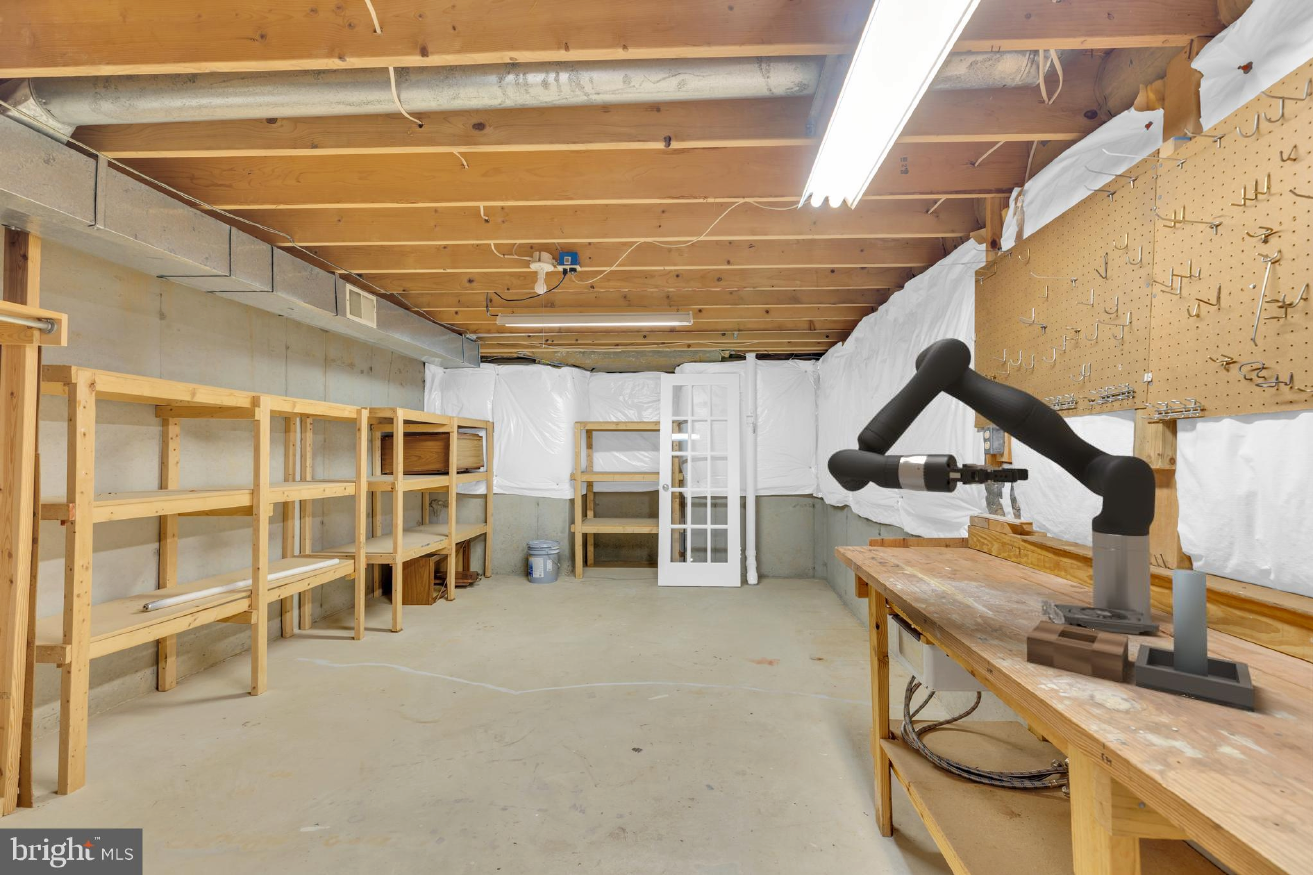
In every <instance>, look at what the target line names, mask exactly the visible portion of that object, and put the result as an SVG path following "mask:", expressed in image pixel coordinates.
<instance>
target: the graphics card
mask: <svg viewBox="0 0 1313 875" xmlns="http://www.w3.org/2000/svg"><path fill="white" fill-rule="evenodd" d="M1040 610H1041V612H1042V613H1041V614H1040V615H1046V616H1048V621H1049V622H1053V623H1059V624H1065V625H1070V626H1076V627H1078V624H1079V625H1081V627H1082V628H1087V629H1094V630H1099V631H1104V632H1110V633H1119V634H1122V633H1123V634H1131V635H1140V633H1143V632H1146V631H1147V632H1153V633H1154V632H1155V633H1157V632H1158V633H1159V632H1160V624H1159V623H1154V621H1153V620H1152V618H1151V619H1149V618H1147V617H1144V616H1143V613H1141V612H1135V611H1125V610H1115V609H1104V608H1094V607H1093V606H1082V605H1081V606H1080V605H1072V604H1063V603H1062V604H1061V603H1055V604H1054V603H1052V602H1051V601H1050V600H1046V599H1045V600H1043V599H1042V600H1041V609H1040Z"/></svg>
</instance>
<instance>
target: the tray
mask: <svg viewBox="0 0 1313 875" xmlns="http://www.w3.org/2000/svg"><path fill="white" fill-rule="evenodd" d="M1207 659H1208V677H1204V676H1199V675H1194V674H1189V673H1184V672H1179V671H1174V649H1169V648H1163V647H1158V646H1154V645H1148V644H1142V643H1140V644H1139V648H1138V651H1137V656H1136V659H1135V663H1134V677H1135V678H1134V685H1135V686H1137V687H1140V686H1142V687H1141V688H1146V689H1149V688H1151V689H1150V690H1154V689H1155V691H1158V690H1160V691H1159V692H1163V693H1167V692H1169V694H1172V695H1176V694H1178V695H1177V696H1181V695H1185V696H1188V697H1187V698H1190V697H1194V698H1196V699H1195V700H1198V699H1200V701H1204V702H1208V703H1213V704H1217V705H1221V706H1226V707H1231V708H1235V709H1240V710H1244V711H1248V712H1254V713H1255V696H1254V695H1255V694H1254V693H1255V692H1254V685H1253V682H1252V677H1251V673H1250V670H1249V665H1248V663H1246V662H1240V661H1235V660H1229V659H1225V658H1219V657H1218V658H1217V657H1214V656H1213V657H1212V656H1208V655H1207ZM1185 696H1184V697H1185ZM1194 698H1193V699H1194Z"/></svg>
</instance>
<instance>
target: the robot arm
mask: <svg viewBox="0 0 1313 875" xmlns="http://www.w3.org/2000/svg"><path fill="white" fill-rule="evenodd" d="M971 362H972V354H971V350H970V348H969V347H968V345H967V344H966V343H965V342H964V341H962V340H960V339H958V338H953V337H951V338H949V337H948V338H947V337H946V338H943V339H939V340H937V341H935V342H933V343H931V344H930V345H928V347H926V348H925V349H923V350H921V351H920V353H918V355H917V357H916V359H915V364H914V366H915V371H916V372H915V374H914V375H913V376H912V378H911V379H910V380H909V381H908V382H907V383H906V385H904V387H903V388H902V389H901V390H900V391H899V392H898V393H897V394H896V395H894V396H893V398H892V399H890V401H888V402H887V403H886V404H885V405H883V407H882V408H881V409H879V411H878V412H877V413H876V414H875V415H874V416H873V417H872V418H871V420H870V421H869V422H868V423H867V424H866V425H865V426H864V428H863V429H862V430H861V431H860V433H859V434H858V436H857V445H858V449H856V448H855V449H853V448H847V449H841V450H838V451H835V452H834V453H833V454H831V456H830V457H829V458H828V461H827V470H828V472H829V474H830V475H831V477H832V478H833V479H834V480H835V481H836V482H837V483H838V484H839V485H840V487H842V488H843V489H844V490H845V491H847V492H852V493H853V492H857V491H860V490H862V489H864V488H865V487H867V486H868V485H869V484H870V482H871V483H873V484H874V485H876V486H878V487H880V488H883V489H891V490H893V489H895V490H908V491H914V492H929V493H945V494H946V493H953V492H955V491H956V489H957V487H958V483H962V485H967V486H968V485H969V486H971V485H972V486H973V485H984V484H992V483H1004V484H1005V483H1007V484H1008V483H1009V484H1014V483H1017V482H1018V481H1028V480H1029V470H1028V469H1027V468H1015V467H1014V468H1012V467H1011V468H1010V467H1009V468H1008V467H1006V468H1005V467H1003V466H999V465H998V466H993V465H991V464H977V463H962V465H961V467H960V466H958V460H957V458H956V457H955V455H953V454H951V453H950V454H949V453H945V454H944V453H937V454H936V453H934V454H933V453H917V454H916V453H914V454H887V453H888V451H890V449H892V447H893V446H894V445H895V444H896V443H897V441H898V440H900V438H902V436H903V434H904V433H905V432H906V431H907V430H908V429H909V428H910V426H911V425H912V424H913V423H914V421H915V420H916V419H917V418H918V416H920V414H921V413H922V412H923V411H924V410H925V409H926V408H927V407H928V406H929V404H930V403H931V402H932V401H933V400H934V399H936V398H937V396H938V395H939V394H941V393H942V392H943V393H945V394H946V395H948V396H951V397H952V398H954V399H956V400H958V401H960V402H961V403H963V404H965V406H968V407H969V408H970V409H971V410H973V411H974V412H976V413H977V414H978V415H980V416H981V417H983V418H985V420H987V421H989V422H990V423H992V424H993V425H994V426H995V427H997V428H999V429H1001V430H1002V431H1003V432H1005V433H1006V434H1008V435H1009V436H1010V437H1011V438H1013V439H1015V440H1016V441H1018V442H1019V443H1021V444H1023V445H1024V446H1026V447H1028V448H1029V449H1031V450H1033V451H1035V452H1036V453H1037V454H1040V456H1043V457H1044V458H1047V459H1048V460H1050V461H1051V462H1053V463H1055V464H1056V465H1058V466H1059V467H1060V468H1062V469H1064V471H1066V472H1067V473H1069V475H1070V476H1071V477H1073V478H1074V479H1076V481H1078V482H1079V483H1080V484H1081V485H1082V486H1084V488H1086V489H1088V490H1089V491H1090V492H1091V493H1093V494H1095V495H1097V496H1098V497H1101V498H1102V504H1101V506H1102V507H1101V511H1100V512H1099V514H1096V516H1093V518H1092V520H1091V542H1092V543H1091V544H1092V546H1091V548H1092V607H1094V608H1104V609H1115V610H1125V611H1135V612H1141V613H1143V616H1144V617H1147V618H1149V619H1151V620H1152V615H1151V614H1152V612H1151V608H1152V607H1151V601H1152V600H1151V599H1152V598H1151V595H1152V594H1151V548H1150V547H1151V546H1150V544H1151V543H1150V540H1151V538H1150V528H1151V525H1152V523H1154V519H1155V511H1156V510H1155V508H1156V493H1157V492H1156V488H1157V486H1156V484H1157V483H1156V477H1155V476H1156V475H1155V473H1154V471H1153V468H1152V467H1151V465H1150V464H1149V463H1148V462H1147V461H1146V460H1144V459H1143V458H1140V457H1137V456H1134V455H1119V454H1118V455H1113V454H1110V453H1108V452H1105V451H1104V450H1101V449H1100V448H1097V447H1096V446H1094V445H1093V444H1091V443H1090V442H1088V441H1086V440H1084V439H1083V438H1082V437H1080V436H1079V435H1078V433H1076V432H1075V431H1074V429H1072V427H1071V426H1070V425H1069V423H1067V421H1066V420H1065V418H1064V417H1063V416H1062V415H1061V414H1060V413H1059V412H1058V411H1056V410H1055V408H1052V407H1051V406H1050V405H1049V404H1046V403H1045V402H1044V401H1042V400H1040V399H1039V398H1037V397H1036V396H1034V395H1032V394H1031V393H1029V392H1026V391H1024V390H1022V389H1019V388H1017V387H1015V386H1011V385H1008V384H1005V383H1001V382H999V381H996V380H992V379H990V378H988V377H986V376H983V375H982V374H980V373H978V372H977V371H976V370H975V369H973V368H972V367H970V365H971Z"/></svg>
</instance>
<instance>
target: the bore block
mask: <svg viewBox="0 0 1313 875" xmlns="http://www.w3.org/2000/svg"><path fill="white" fill-rule="evenodd" d="M1082 627H1083V626H1077V627H1076V626H1071V625H1065V624H1059V623H1053V621H1049V620H1042V619H1040V620H1039V622H1038V623H1037V624H1036V625H1035V627H1034V628H1033V629H1032V630H1031V631H1030V633H1029V634H1028V635H1027V636H1026V662H1028V661H1029V663H1033V664H1037V665H1043V666H1046V667H1051V668H1055V669H1060V670H1065V671H1069V672H1074V673H1078V674H1082V675H1087V676H1091V677H1095V678H1100V679H1104V680H1105V679H1106V680H1109V681H1114V682H1119V683H1123V682H1124V681H1123V680H1124V676H1125V673H1126V670H1127V666H1128V664H1129V635H1126V634H1122V633H1117V632H1110V631H1100V630H1093V629H1087V628H1085V627H1084V628H1082Z"/></svg>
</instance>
